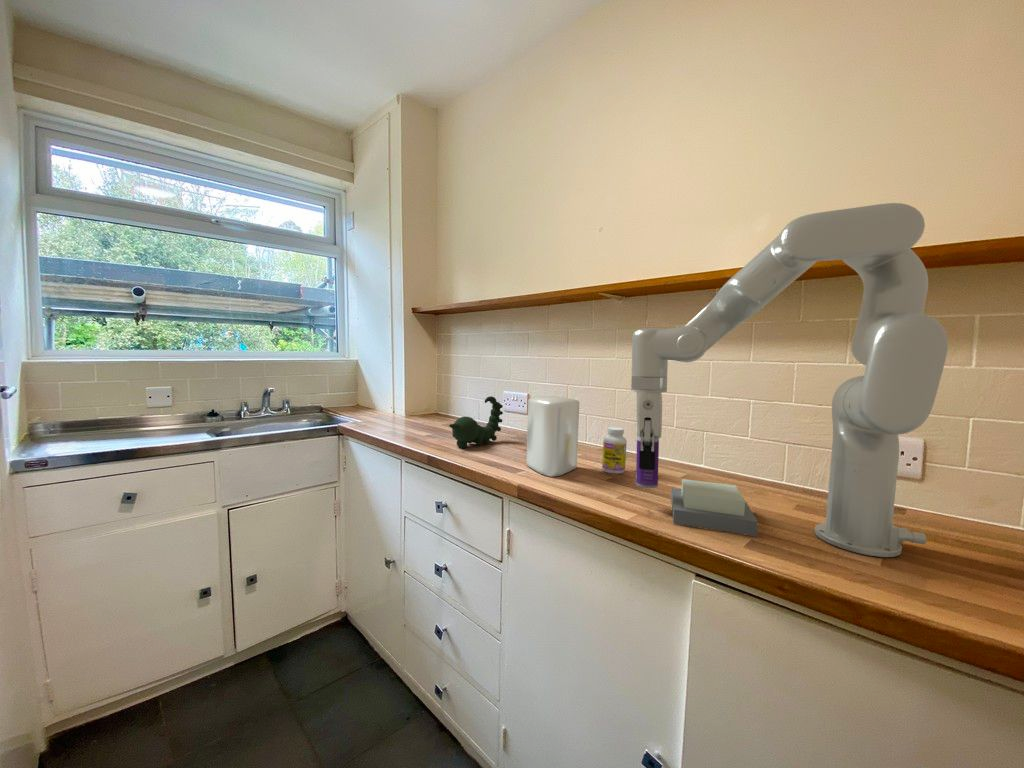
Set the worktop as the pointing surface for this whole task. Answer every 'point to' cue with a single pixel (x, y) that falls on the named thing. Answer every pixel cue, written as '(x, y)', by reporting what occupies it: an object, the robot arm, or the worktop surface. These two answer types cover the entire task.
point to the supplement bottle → (614, 451)
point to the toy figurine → (477, 427)
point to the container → (642, 475)
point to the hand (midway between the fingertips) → (647, 465)
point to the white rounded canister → (552, 435)
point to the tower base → (712, 518)
